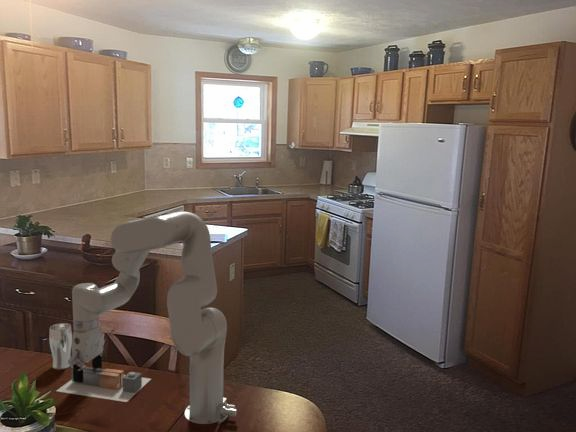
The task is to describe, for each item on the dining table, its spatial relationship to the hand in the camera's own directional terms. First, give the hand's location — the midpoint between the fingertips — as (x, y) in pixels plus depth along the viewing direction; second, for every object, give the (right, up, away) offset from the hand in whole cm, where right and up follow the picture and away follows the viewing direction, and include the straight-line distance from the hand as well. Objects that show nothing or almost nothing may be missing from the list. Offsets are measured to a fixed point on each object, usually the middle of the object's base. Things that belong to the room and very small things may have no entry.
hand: (88, 374), depth 156 cm
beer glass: (-14, -2, +12) cm, 18 cm away
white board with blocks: (+6, -4, -1) cm, 7 cm away
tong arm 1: (+3, -3, -1) cm, 4 cm away
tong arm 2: (+3, -2, +1) cm, 4 cm away
